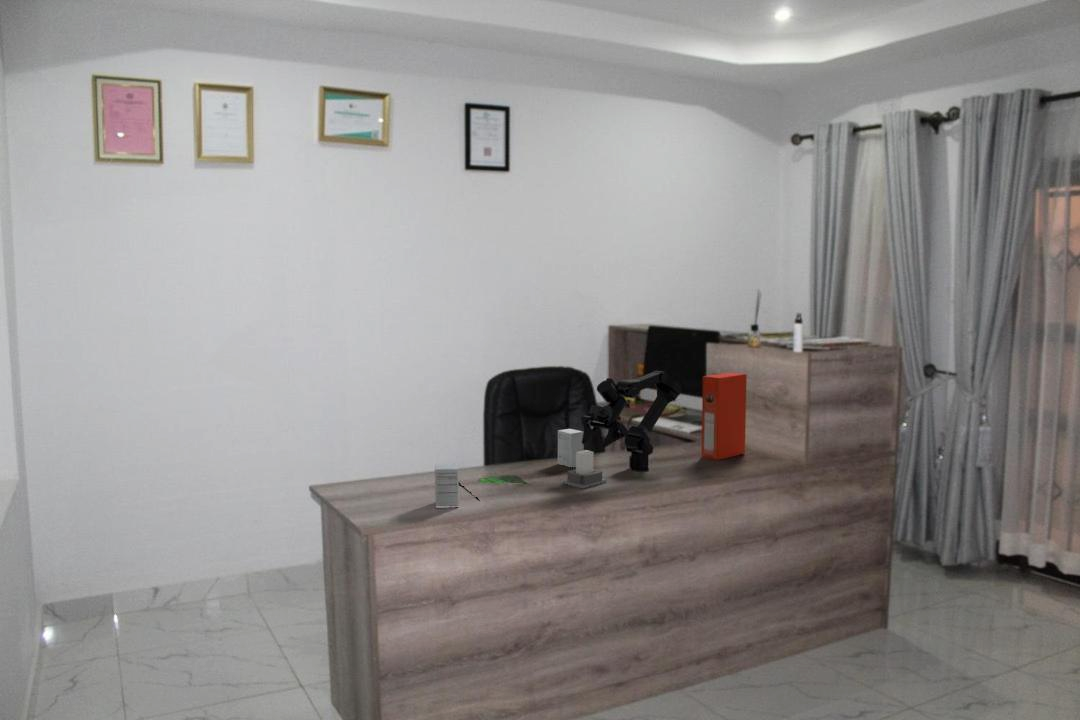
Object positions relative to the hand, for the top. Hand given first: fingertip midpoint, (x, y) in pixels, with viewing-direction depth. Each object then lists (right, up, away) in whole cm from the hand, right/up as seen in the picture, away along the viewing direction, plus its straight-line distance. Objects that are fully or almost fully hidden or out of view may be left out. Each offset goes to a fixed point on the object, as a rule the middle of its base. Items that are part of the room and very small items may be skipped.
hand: (592, 445), depth 299 cm
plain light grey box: (-3, -12, -1) cm, 12 cm away
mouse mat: (-32, -14, -8) cm, 36 cm away
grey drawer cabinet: (-47, -16, -27) cm, 57 cm away
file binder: (+54, -8, +40) cm, 68 cm away
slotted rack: (-3, -13, -1) cm, 13 cm away
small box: (-7, -10, +25) cm, 28 cm away
